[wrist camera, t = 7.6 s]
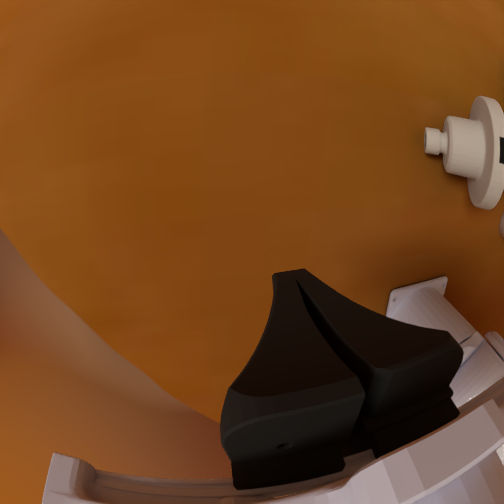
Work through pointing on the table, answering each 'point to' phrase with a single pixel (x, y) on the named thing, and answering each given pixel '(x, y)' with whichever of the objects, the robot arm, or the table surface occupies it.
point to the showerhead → (474, 150)
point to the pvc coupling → (502, 226)
